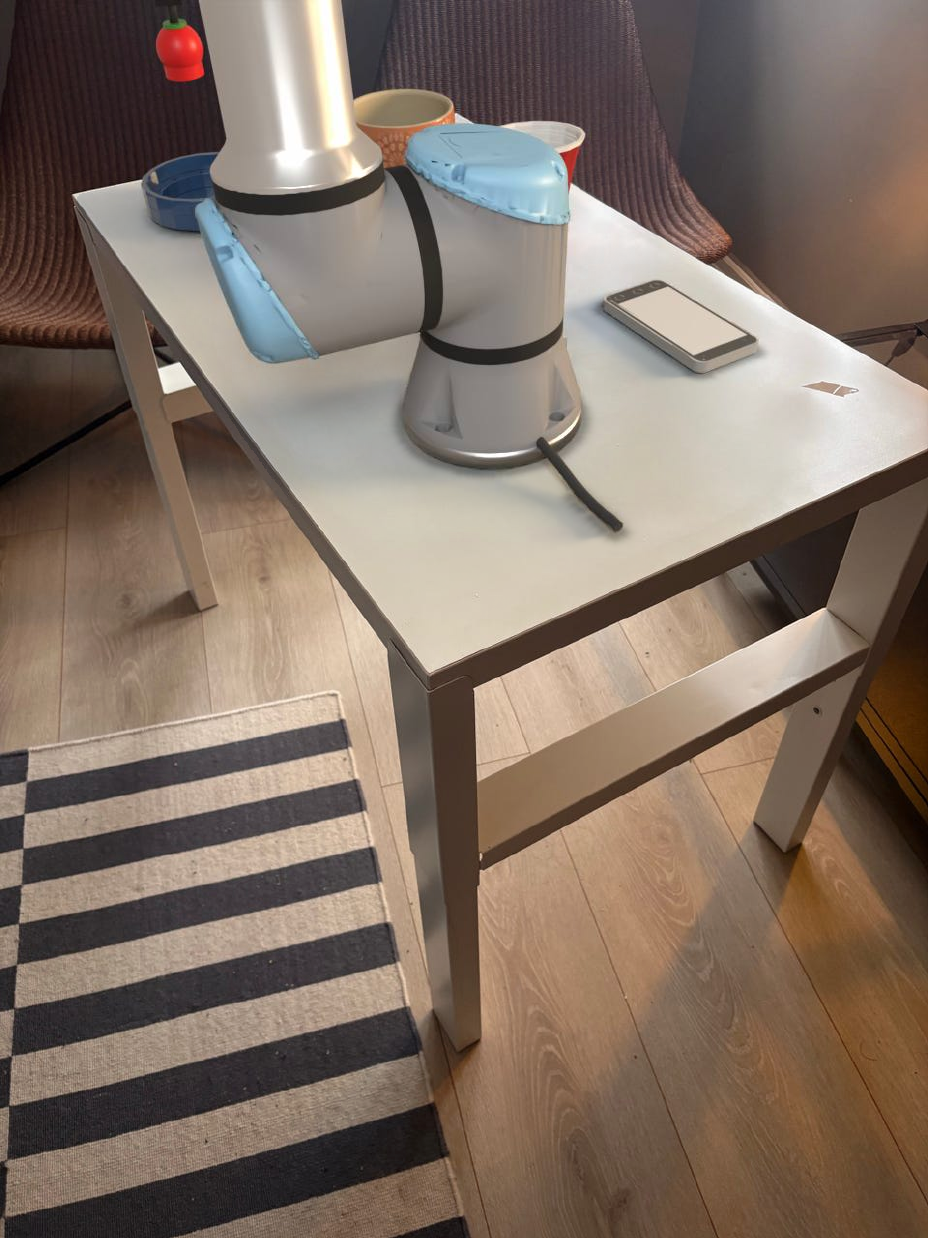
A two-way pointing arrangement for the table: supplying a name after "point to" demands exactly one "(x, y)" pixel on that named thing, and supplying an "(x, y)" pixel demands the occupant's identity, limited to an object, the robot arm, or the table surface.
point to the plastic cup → (555, 139)
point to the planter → (400, 118)
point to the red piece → (179, 49)
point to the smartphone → (680, 325)
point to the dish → (178, 190)
